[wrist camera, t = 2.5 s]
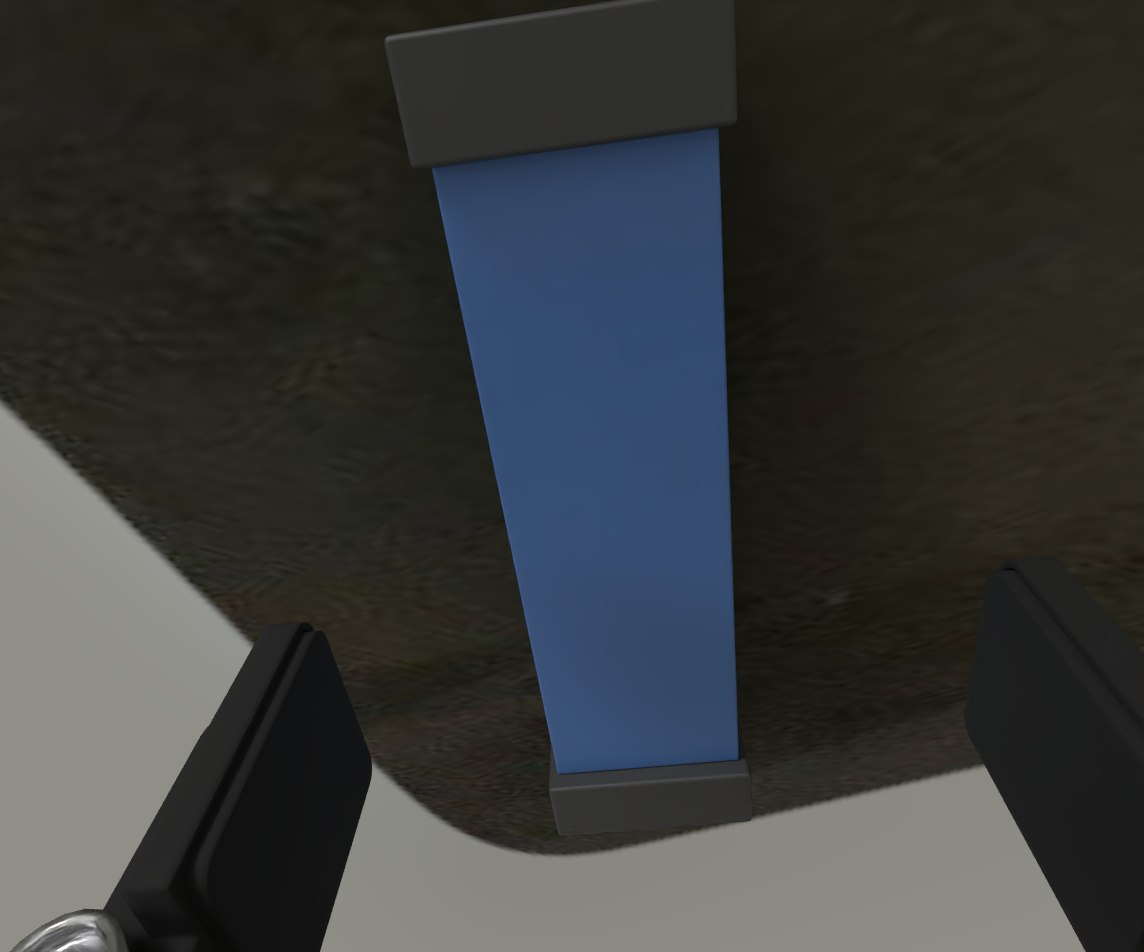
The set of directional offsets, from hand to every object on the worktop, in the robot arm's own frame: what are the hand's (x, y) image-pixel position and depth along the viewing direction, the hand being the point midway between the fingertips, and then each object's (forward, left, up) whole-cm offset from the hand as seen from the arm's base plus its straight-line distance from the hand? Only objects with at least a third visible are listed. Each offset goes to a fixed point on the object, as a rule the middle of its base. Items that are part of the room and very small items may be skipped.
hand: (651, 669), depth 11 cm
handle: (0, 0, -7) cm, 7 cm away
